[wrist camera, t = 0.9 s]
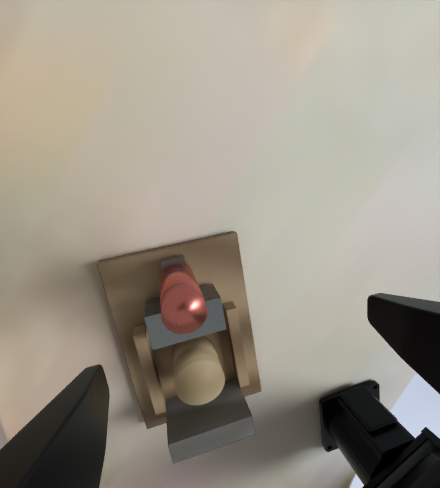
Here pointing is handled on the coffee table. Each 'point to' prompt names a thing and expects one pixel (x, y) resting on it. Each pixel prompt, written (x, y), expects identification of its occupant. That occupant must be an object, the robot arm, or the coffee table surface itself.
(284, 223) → the coffee table surface
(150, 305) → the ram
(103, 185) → the coffee table surface
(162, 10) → the coffee table surface
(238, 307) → the beige mounting plate
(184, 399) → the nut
